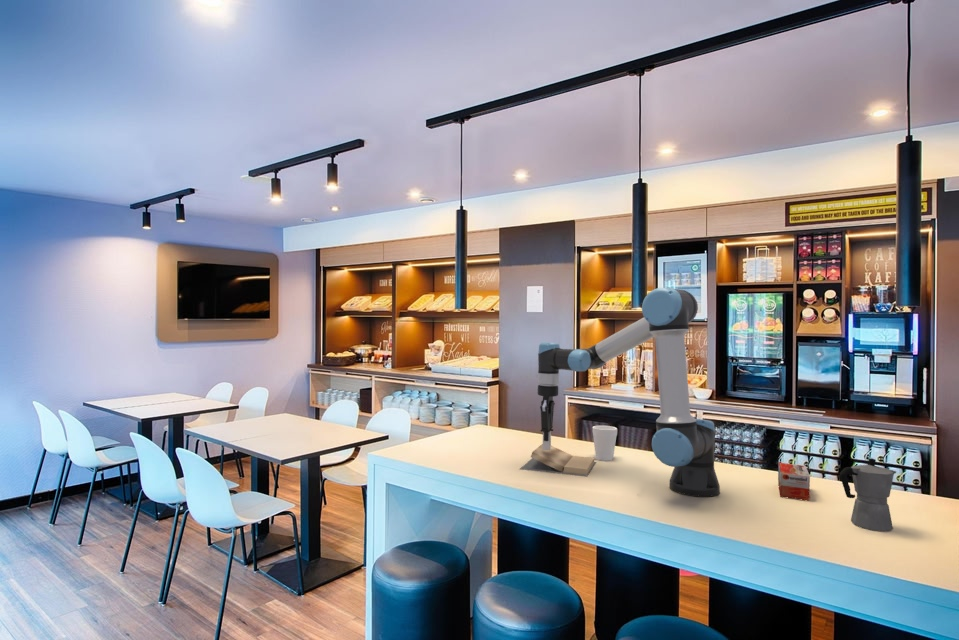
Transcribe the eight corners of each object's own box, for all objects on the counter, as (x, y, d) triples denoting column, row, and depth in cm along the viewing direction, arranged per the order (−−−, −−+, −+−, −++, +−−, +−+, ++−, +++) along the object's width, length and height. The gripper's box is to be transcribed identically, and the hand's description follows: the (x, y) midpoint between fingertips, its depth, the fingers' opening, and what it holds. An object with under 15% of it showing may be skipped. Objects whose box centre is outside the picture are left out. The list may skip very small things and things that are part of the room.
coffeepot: (881, 519, 152) (881, 454, 152) (909, 532, 143) (910, 463, 143) (827, 519, 151) (828, 454, 151) (852, 532, 142) (853, 462, 142)
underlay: (596, 464, 207) (596, 456, 207) (587, 479, 187) (587, 470, 187) (534, 458, 215) (534, 450, 215) (519, 471, 195) (519, 463, 195)
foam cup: (617, 464, 208) (618, 430, 208) (592, 463, 209) (593, 429, 209) (615, 459, 217) (615, 426, 217) (591, 457, 218) (592, 425, 219)
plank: (571, 460, 209) (573, 455, 208) (561, 471, 192) (563, 466, 191) (542, 446, 212) (544, 442, 212) (530, 457, 196) (532, 451, 195)
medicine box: (810, 502, 167) (810, 475, 167) (779, 498, 171) (780, 472, 171) (805, 489, 181) (805, 465, 181) (777, 485, 184) (777, 461, 184)
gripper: (542, 382, 207) (540, 444, 207) (533, 385, 195) (532, 452, 195) (561, 383, 205) (560, 446, 205) (554, 387, 193) (552, 454, 192)
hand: (546, 449), depth 200 cm, fingers closed
